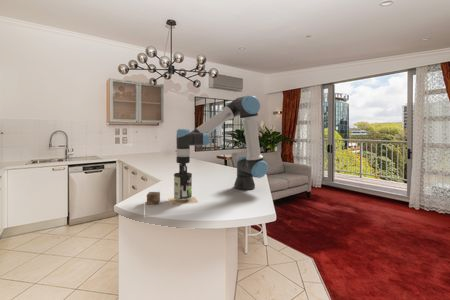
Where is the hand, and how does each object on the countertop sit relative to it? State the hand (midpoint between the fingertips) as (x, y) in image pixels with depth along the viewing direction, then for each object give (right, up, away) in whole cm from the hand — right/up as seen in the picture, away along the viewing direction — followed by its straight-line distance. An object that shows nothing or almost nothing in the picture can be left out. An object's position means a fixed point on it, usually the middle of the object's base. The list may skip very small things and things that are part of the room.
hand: (182, 193), depth 137 cm
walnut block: (-16, -5, -5) cm, 17 cm away
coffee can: (0, -2, 0) cm, 2 cm away
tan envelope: (0, -4, 0) cm, 4 cm away
